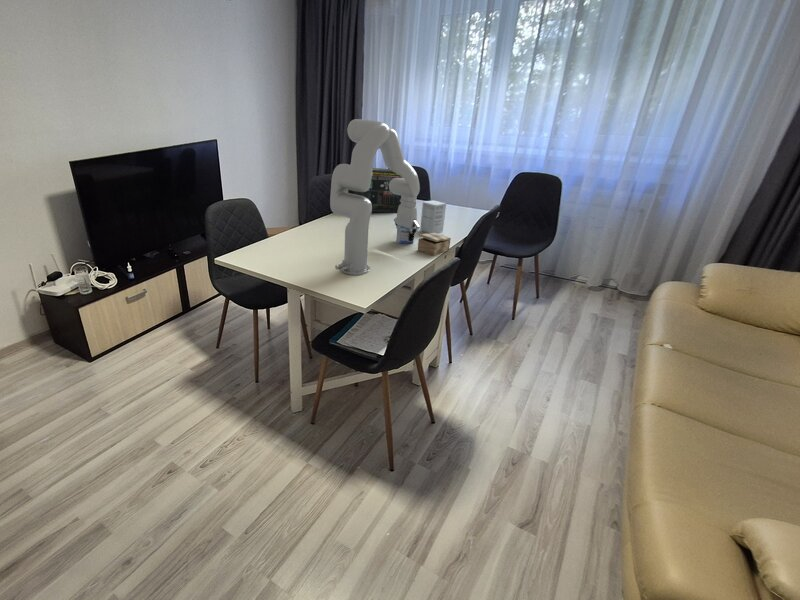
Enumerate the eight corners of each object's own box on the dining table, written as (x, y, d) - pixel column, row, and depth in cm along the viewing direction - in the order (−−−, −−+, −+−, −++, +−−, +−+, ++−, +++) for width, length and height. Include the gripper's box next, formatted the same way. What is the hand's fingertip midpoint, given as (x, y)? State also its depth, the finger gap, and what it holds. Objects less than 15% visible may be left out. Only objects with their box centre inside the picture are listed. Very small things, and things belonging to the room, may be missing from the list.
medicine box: (398, 243, 205) (399, 226, 201) (396, 240, 209) (397, 224, 205) (413, 243, 207) (415, 226, 203) (410, 240, 211) (412, 224, 207)
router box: (399, 210, 268) (403, 169, 256) (402, 214, 258) (406, 172, 247) (346, 207, 262) (347, 165, 250) (347, 212, 252) (348, 168, 241)
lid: (435, 241, 189) (435, 239, 189) (419, 236, 195) (419, 234, 194) (450, 239, 198) (450, 237, 197) (434, 234, 203) (434, 232, 203)
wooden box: (433, 256, 192) (434, 244, 189) (417, 250, 198) (418, 238, 195) (448, 251, 200) (450, 240, 198) (433, 245, 206) (434, 234, 204)
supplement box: (443, 233, 227) (447, 203, 219) (432, 236, 220) (436, 205, 213) (429, 229, 232) (433, 199, 225) (419, 232, 226) (422, 201, 219)
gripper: (390, 200, 202) (387, 235, 209) (416, 208, 191) (413, 244, 199) (400, 199, 207) (397, 232, 214) (426, 206, 197) (423, 241, 204)
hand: (405, 238), depth 207 cm, fingers open, 7 cm apart
